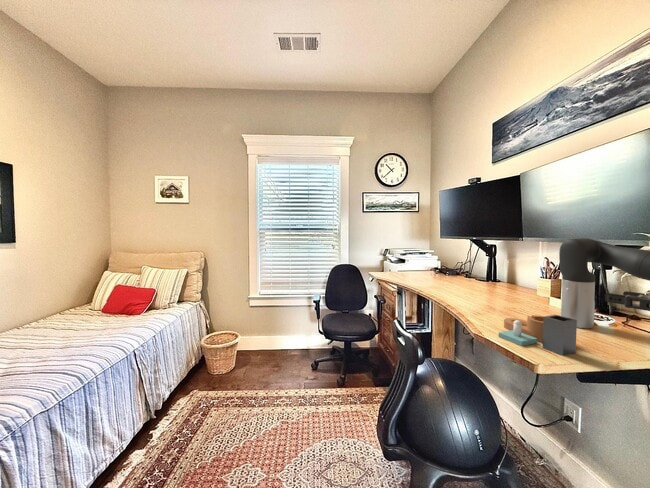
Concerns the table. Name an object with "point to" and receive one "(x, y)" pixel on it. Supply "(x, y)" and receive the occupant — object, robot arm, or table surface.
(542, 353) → the table surface
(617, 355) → the table surface
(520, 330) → the shaft mount
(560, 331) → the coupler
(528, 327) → the bracket
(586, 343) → the table surface
